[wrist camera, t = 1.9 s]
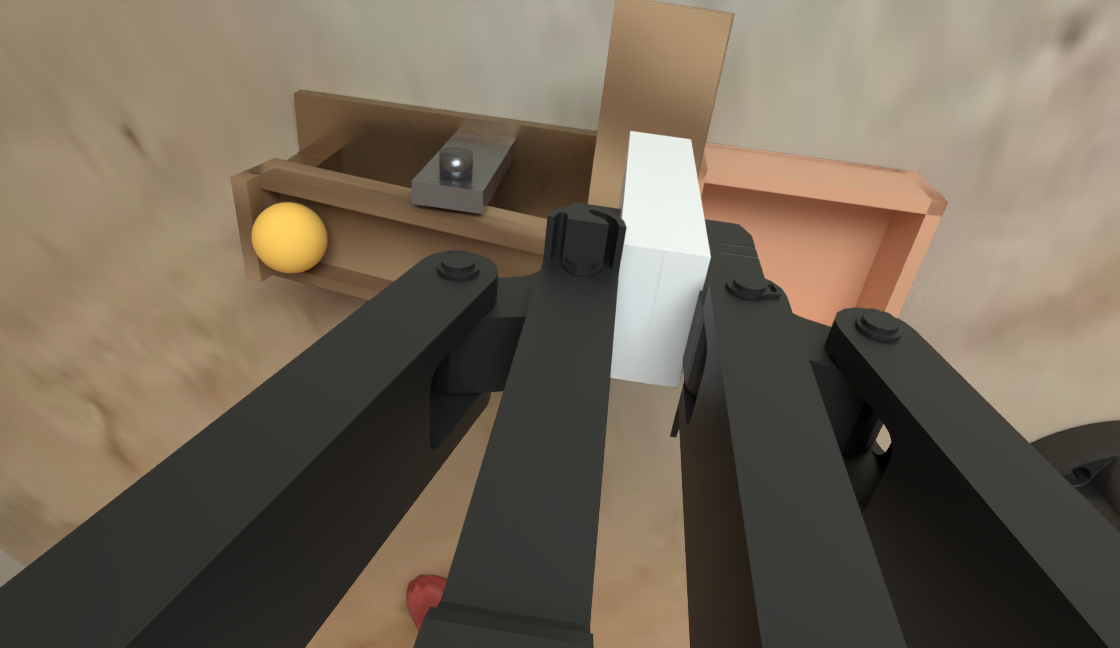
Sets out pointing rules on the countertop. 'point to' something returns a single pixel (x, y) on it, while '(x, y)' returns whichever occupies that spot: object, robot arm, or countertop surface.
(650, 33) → the lever
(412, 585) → the stacking bear
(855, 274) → the dish
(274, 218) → the ball
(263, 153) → the countertop surface
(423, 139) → the lever stand
